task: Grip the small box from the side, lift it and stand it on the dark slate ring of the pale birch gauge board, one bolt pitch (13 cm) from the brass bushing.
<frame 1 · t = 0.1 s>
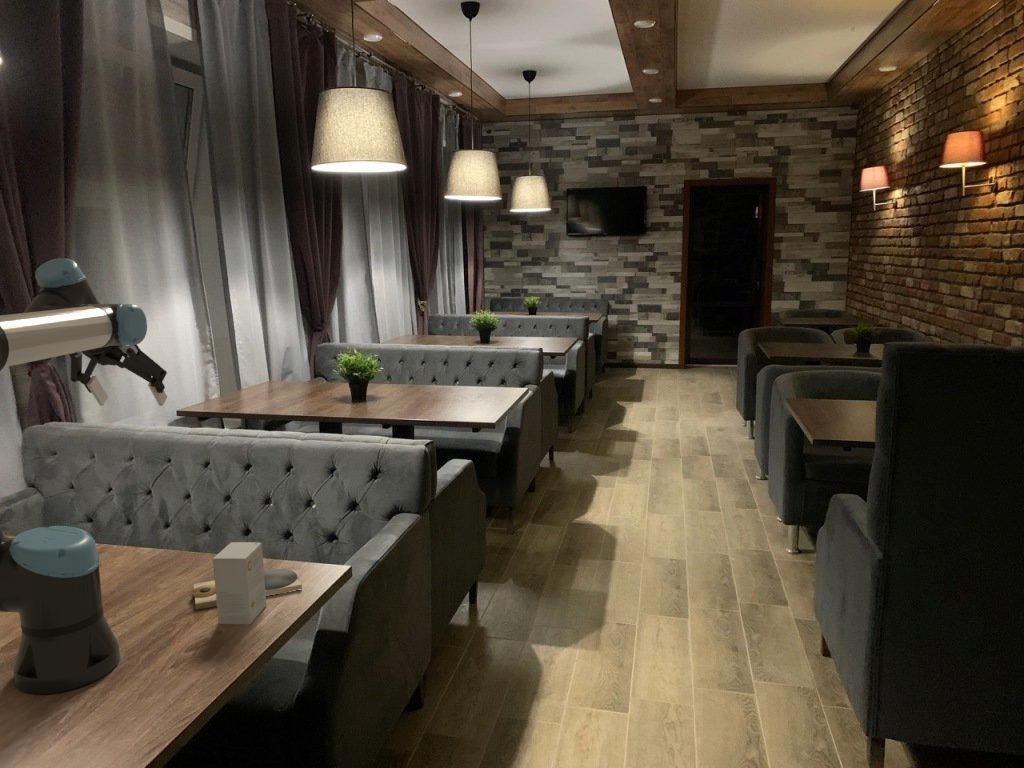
hand: (133, 401, 168), 36 cm above the table, tool tilted 35°, fingers open, 13 cm apart
small box: (242, 615, 144), on the table
gauge board: (247, 589, 155), on the table
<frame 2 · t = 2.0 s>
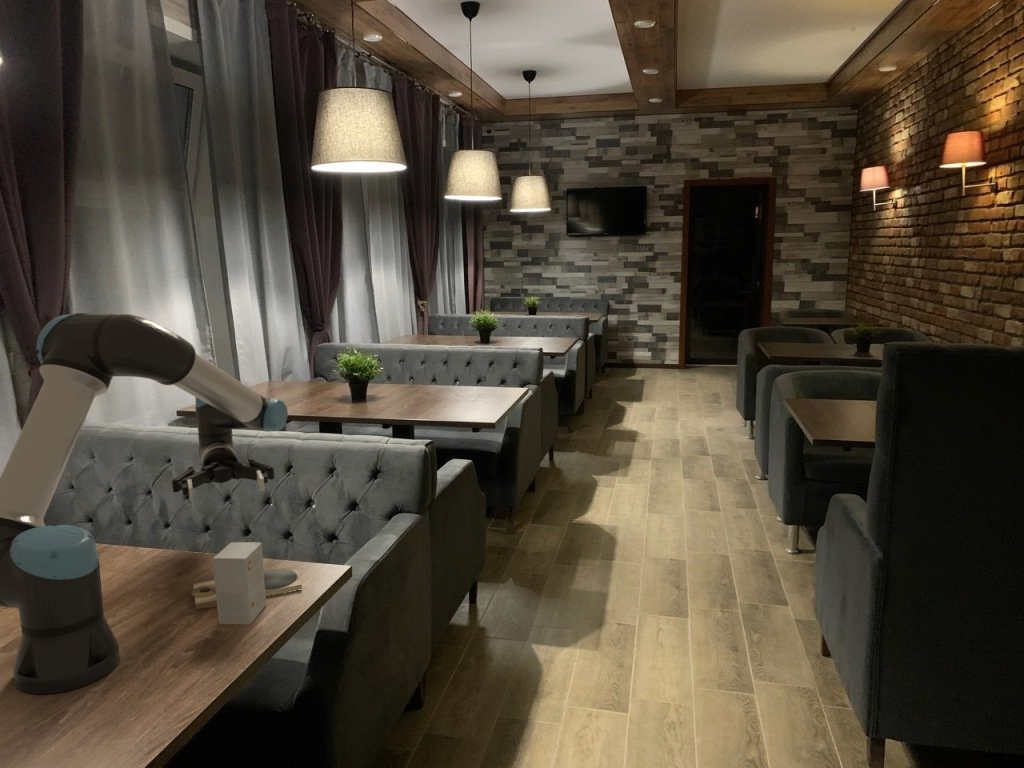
hand: (227, 490, 154), 20 cm above the table, tool horizontal, fingers open, 13 cm apart
nothing on the table moved.
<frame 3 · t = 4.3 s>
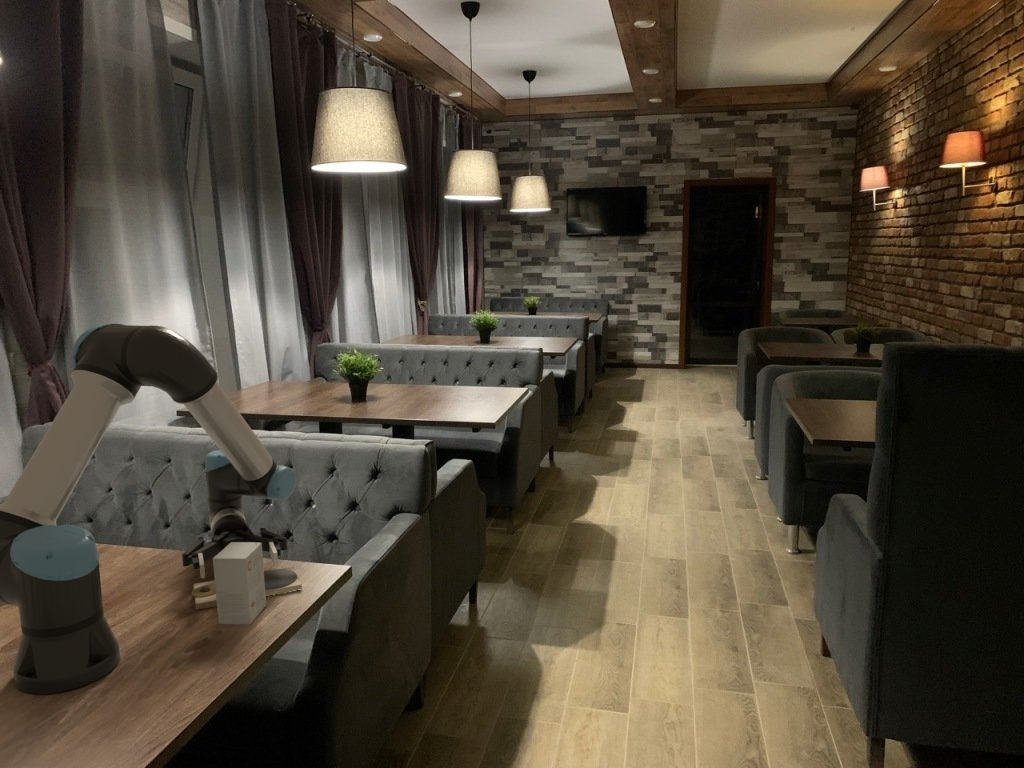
hand: (239, 565, 149), 7 cm above the table, tool horizontal, fingers open, 13 cm apart
nothing on the table moved.
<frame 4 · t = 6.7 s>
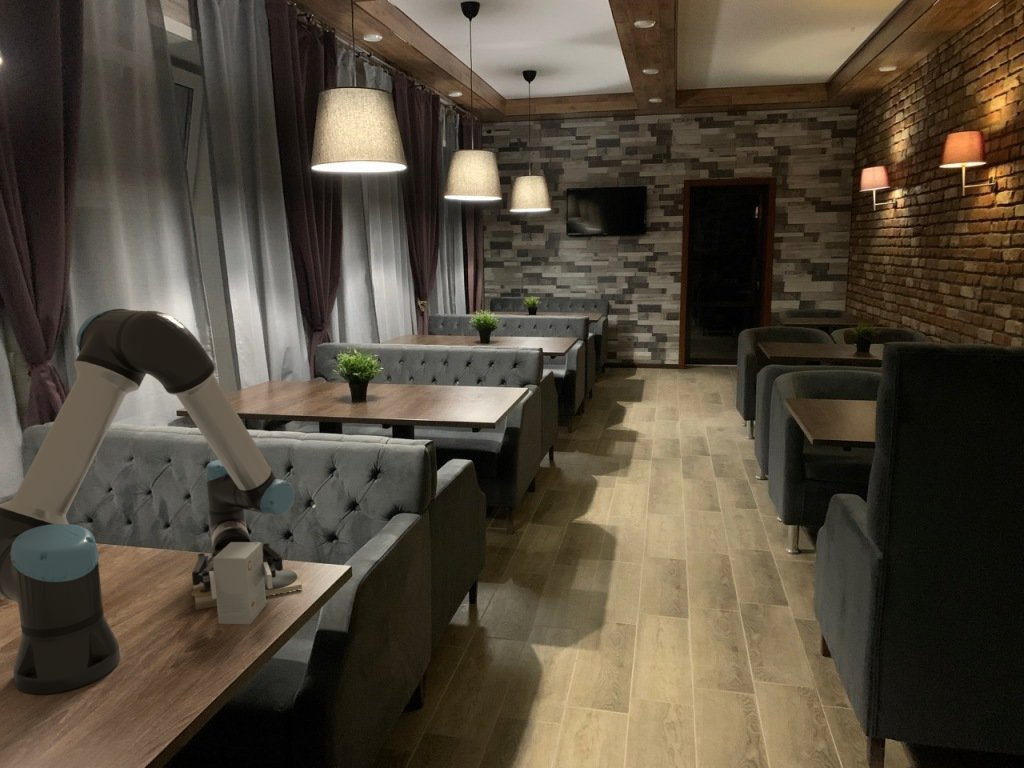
hand: (242, 586, 139), 8 cm above the table, tool horizontal, fingers closed on small box, 9 cm apart
small box: (242, 615, 144), on the table, touching gripper
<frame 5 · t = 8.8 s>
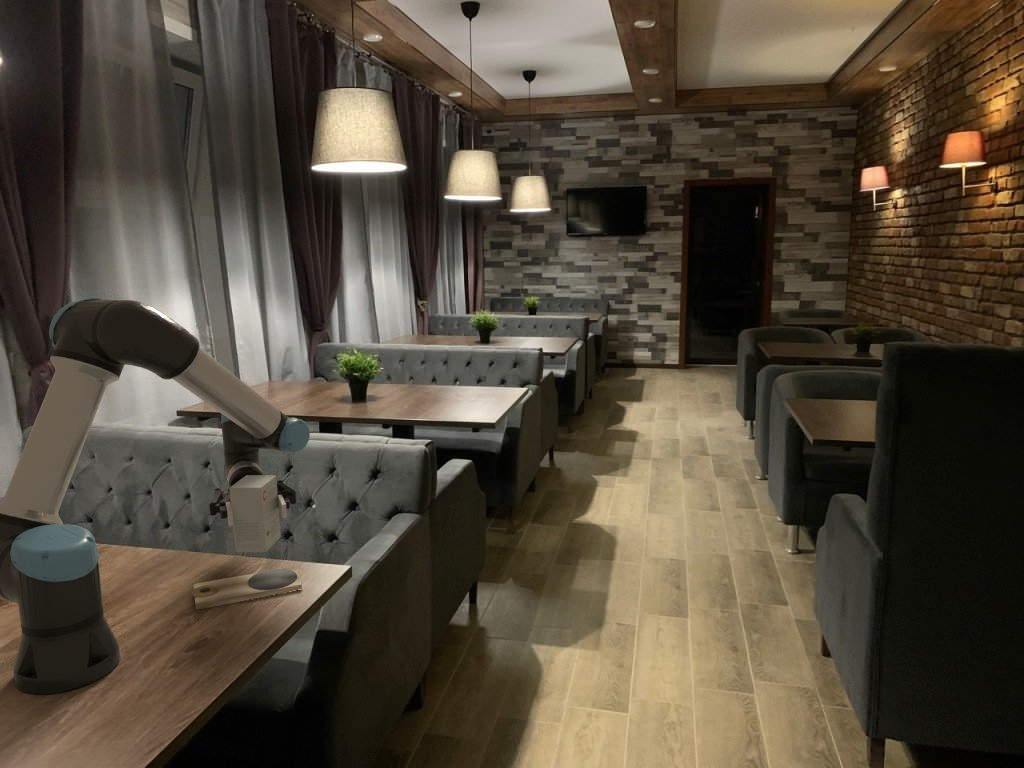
hand: (257, 515, 144), 19 cm above the table, tool horizontal, fingers closed on small box, 9 cm apart
small box: (258, 545, 149), point 11 cm above the table, touching gripper
when the fingers open (10 cm above the table, at t = 11.1 s): small box drops 1 cm, resting on gauge board.
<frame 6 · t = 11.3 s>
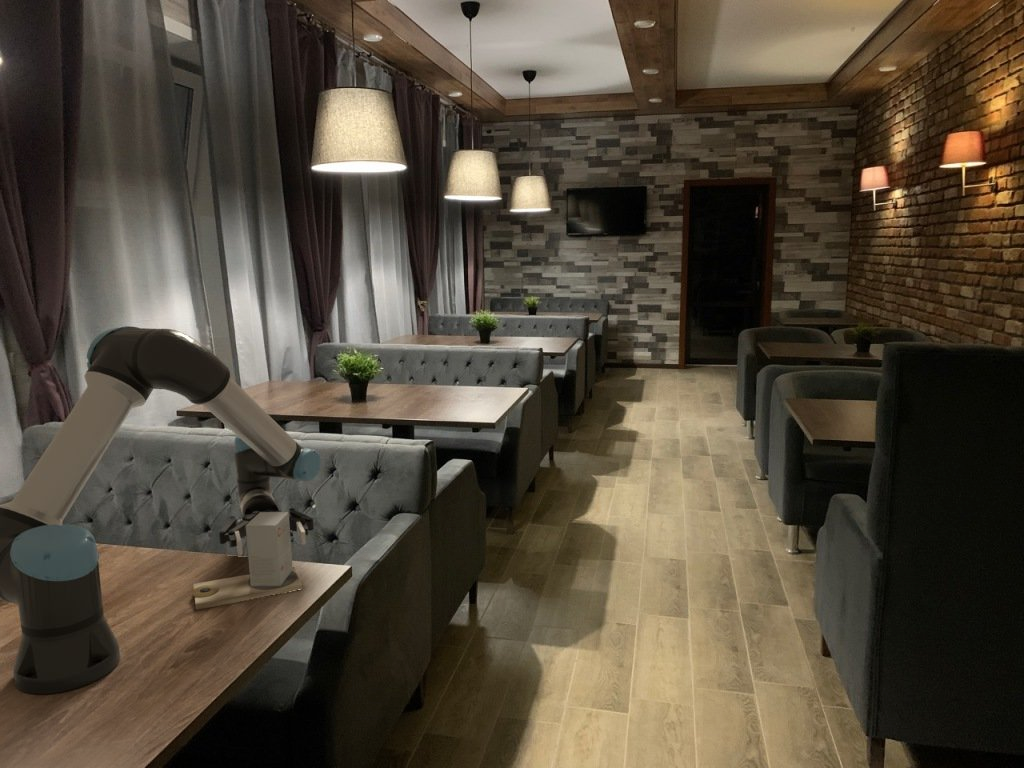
hand: (272, 543, 152), 10 cm above the table, tool horizontal, fingers open, 11 cm apart
small box: (272, 579, 157), point 1 cm above the table, touching gauge board
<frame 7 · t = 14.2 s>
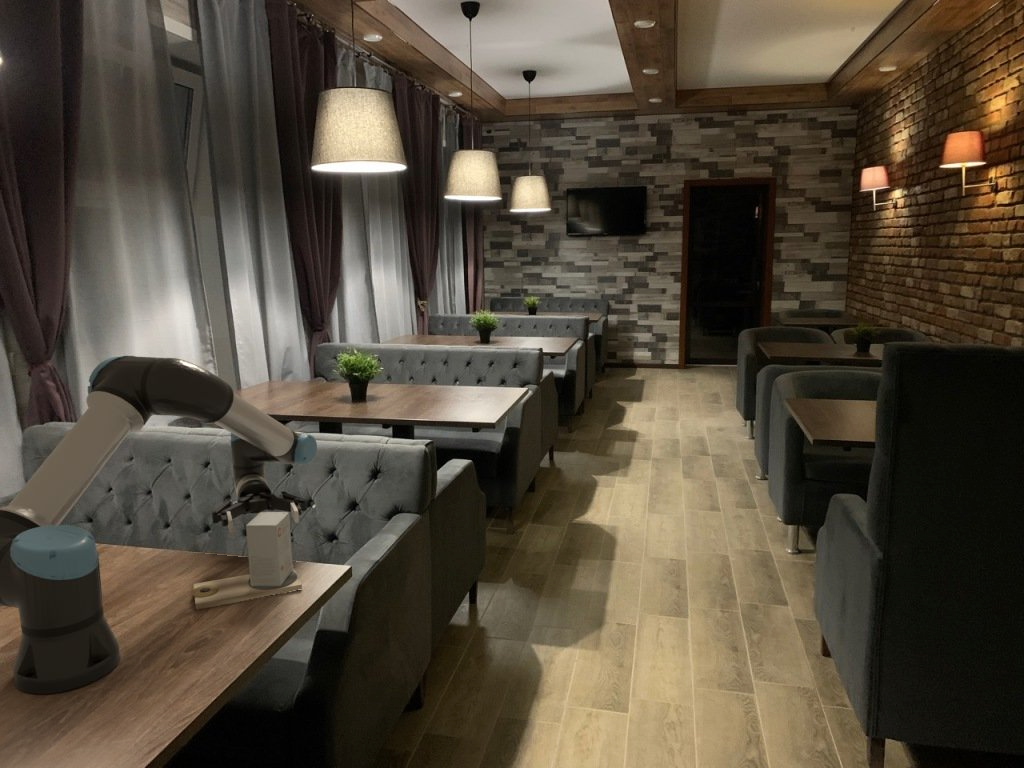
hand: (264, 521, 164), 11 cm above the table, tool horizontal, fingers open, 13 cm apart
nothing on the table moved.
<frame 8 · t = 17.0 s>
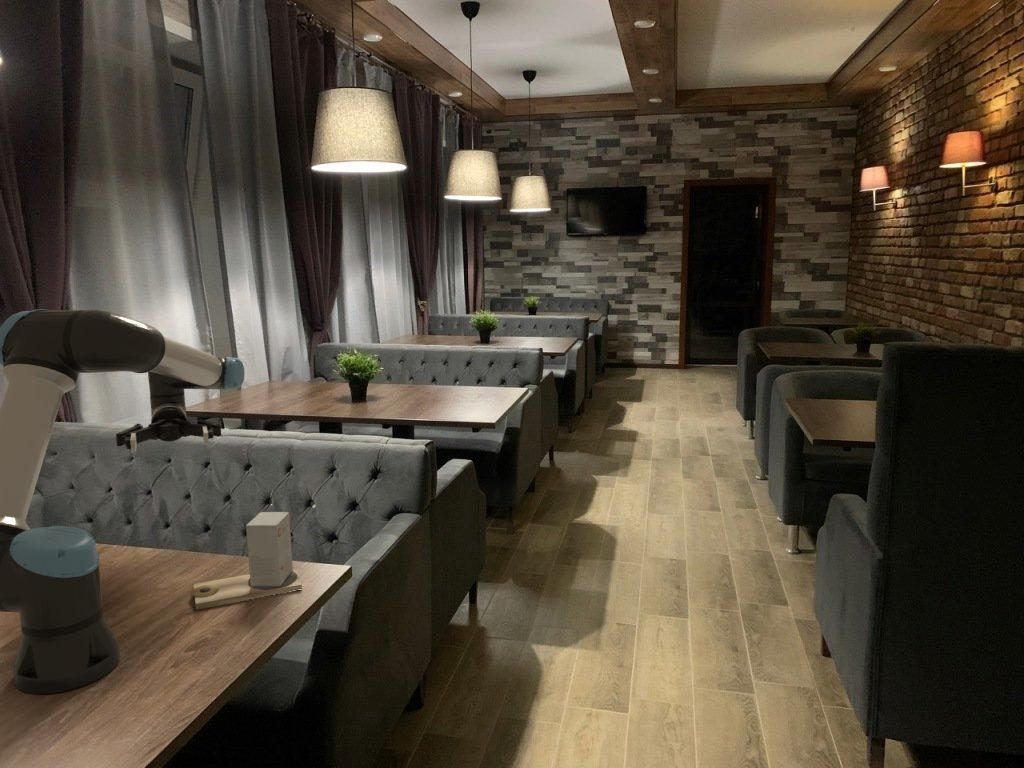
hand: (170, 442, 154), 30 cm above the table, tool horizontal, fingers open, 13 cm apart
nothing on the table moved.
at the end: small box 0.1 cm from the target spot on the gauge board, point 1.3 cm above the gauge board's base; small box tilted 0°; the gripper is holding nothing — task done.
